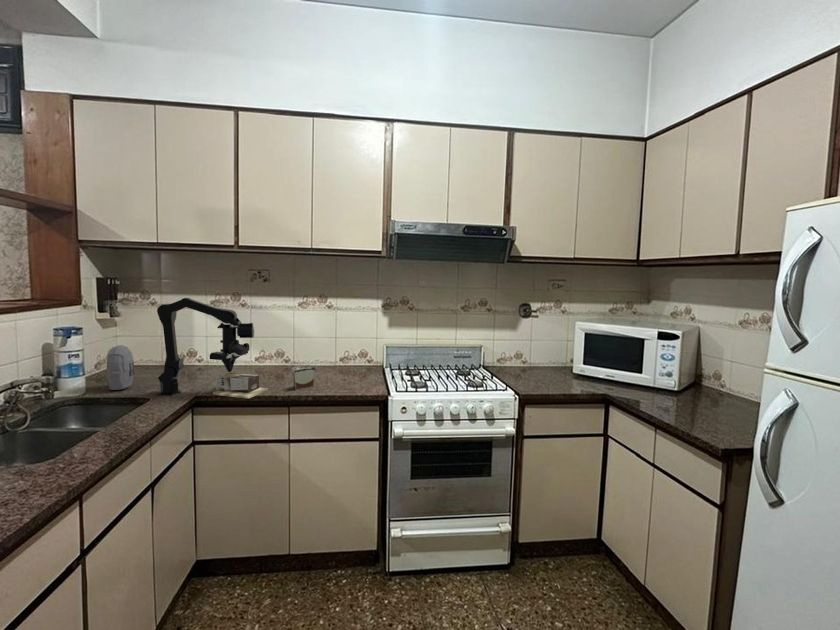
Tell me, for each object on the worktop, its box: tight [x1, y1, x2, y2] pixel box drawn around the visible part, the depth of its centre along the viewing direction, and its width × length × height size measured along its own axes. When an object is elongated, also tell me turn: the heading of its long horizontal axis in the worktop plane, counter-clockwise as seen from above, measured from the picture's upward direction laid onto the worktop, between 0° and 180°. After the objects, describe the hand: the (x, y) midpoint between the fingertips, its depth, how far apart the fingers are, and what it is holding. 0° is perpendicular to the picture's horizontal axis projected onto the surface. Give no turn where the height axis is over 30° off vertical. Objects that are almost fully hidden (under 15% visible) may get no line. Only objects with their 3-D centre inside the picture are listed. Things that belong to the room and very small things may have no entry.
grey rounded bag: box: [105, 344, 135, 391], centre depth 192 cm, size 15×8×20 cm, turn 15°
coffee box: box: [215, 372, 260, 393], centre depth 192 cm, size 9×6×16 cm
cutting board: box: [212, 387, 269, 400], centre depth 191 cm, size 18×14×1 cm
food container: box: [291, 364, 317, 391], centre depth 203 cm, size 12×6×10 cm, turn 135°
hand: (229, 371), depth 192 cm, fingers closed
